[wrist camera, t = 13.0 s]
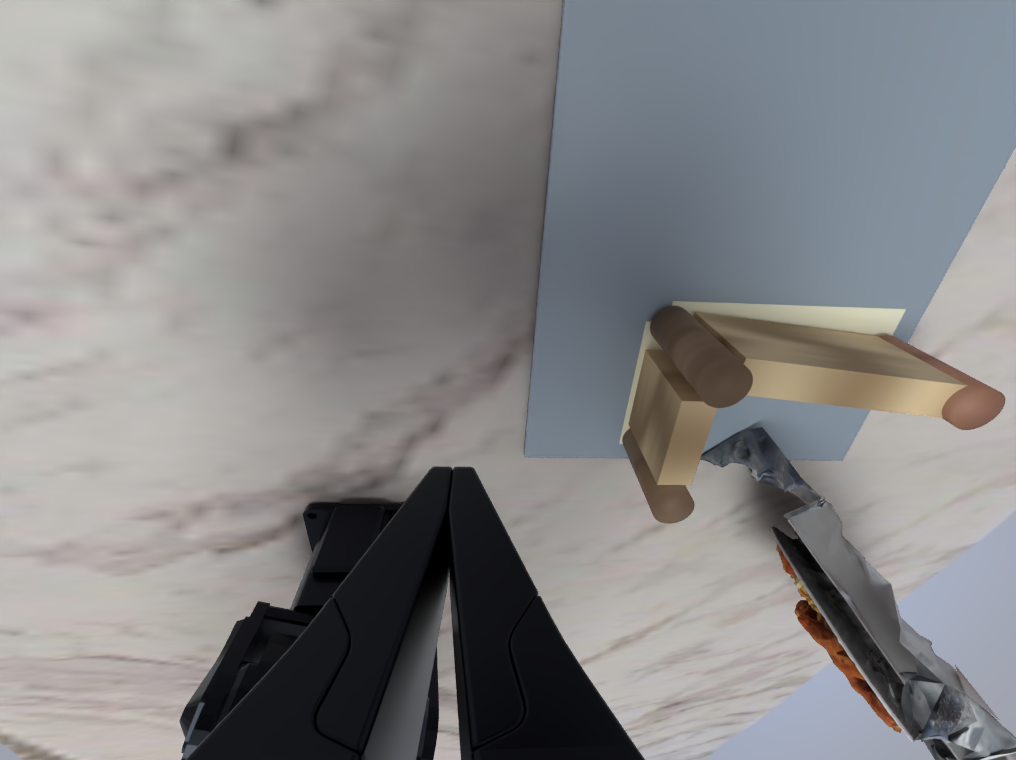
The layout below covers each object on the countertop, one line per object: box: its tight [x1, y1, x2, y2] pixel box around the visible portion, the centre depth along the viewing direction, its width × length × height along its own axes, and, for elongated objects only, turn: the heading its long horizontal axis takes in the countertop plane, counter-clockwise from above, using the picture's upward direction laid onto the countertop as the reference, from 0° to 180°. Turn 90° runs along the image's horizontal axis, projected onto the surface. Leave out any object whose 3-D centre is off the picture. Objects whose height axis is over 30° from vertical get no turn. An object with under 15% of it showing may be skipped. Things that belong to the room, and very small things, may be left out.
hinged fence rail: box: [650, 306, 1005, 430], centre depth 18 cm, size 12×2×5 cm, turn 81°
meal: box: [700, 427, 1016, 760], centre depth 22 cm, size 15×4×13 cm, turn 40°
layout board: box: [524, 0, 1016, 461], centre depth 20 cm, size 20×18×1 cm
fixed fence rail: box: [622, 350, 717, 523], centre depth 20 cm, size 6×2×5 cm, turn 177°
